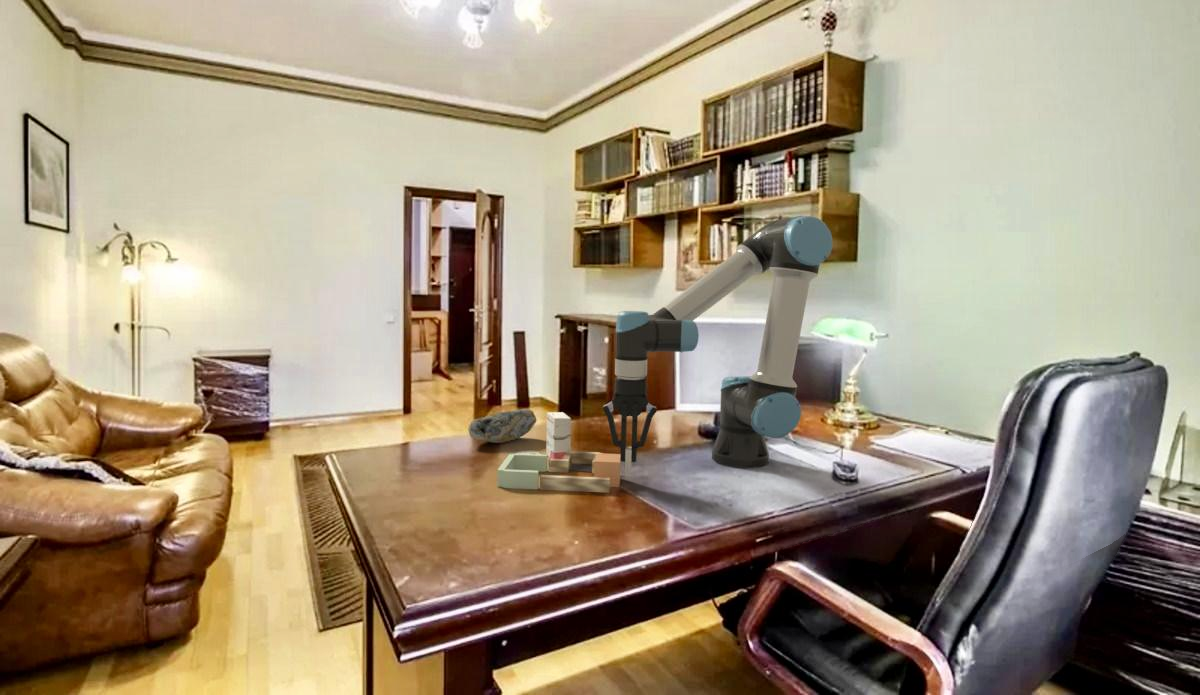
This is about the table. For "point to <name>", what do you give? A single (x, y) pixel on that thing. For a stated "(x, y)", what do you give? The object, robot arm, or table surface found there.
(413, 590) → the table surface
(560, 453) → the ink box
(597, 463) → the block
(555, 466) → the wooden frame piece
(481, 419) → the stone
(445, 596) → the table surface
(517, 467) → the dock
